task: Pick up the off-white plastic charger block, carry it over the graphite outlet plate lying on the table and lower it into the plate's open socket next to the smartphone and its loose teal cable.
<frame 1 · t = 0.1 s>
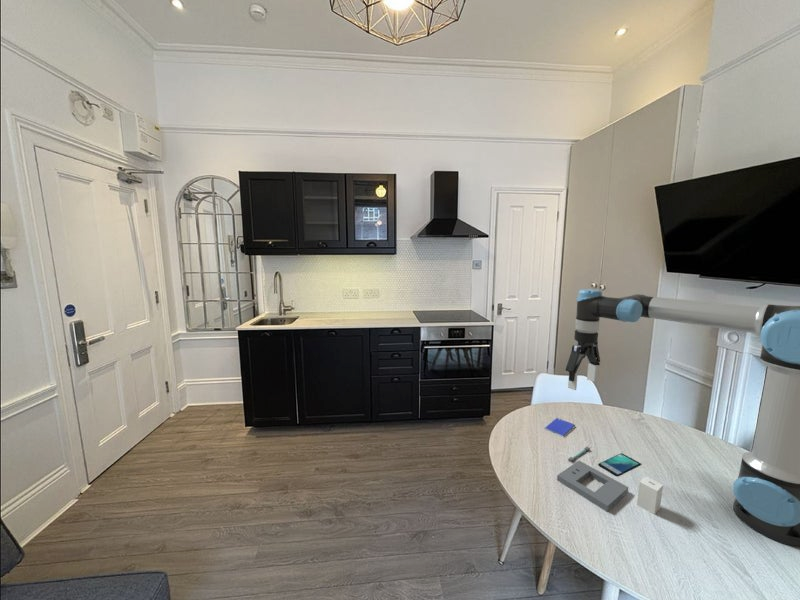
hand: (581, 384, 121), 28 cm above the table, fingers open, 13 cm apart
outlet plate: (591, 486, 107), on the table
hard drive: (559, 429, 142), on the table
smartphone: (619, 466, 118), on the table
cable: (579, 455, 123), on the table
charger: (648, 506, 98), on the table
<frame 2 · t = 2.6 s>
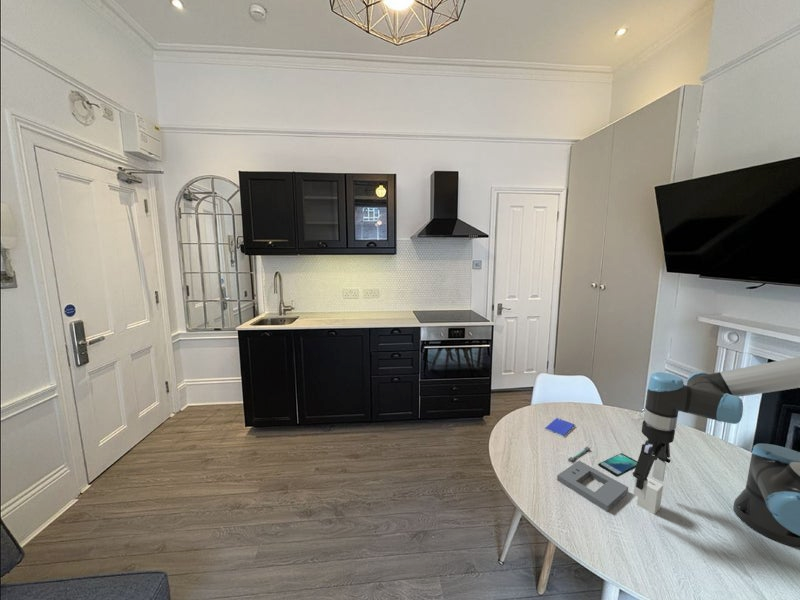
hand: (648, 487, 98), 6 cm above the table, fingers open, 13 cm apart
nothing on the table moved.
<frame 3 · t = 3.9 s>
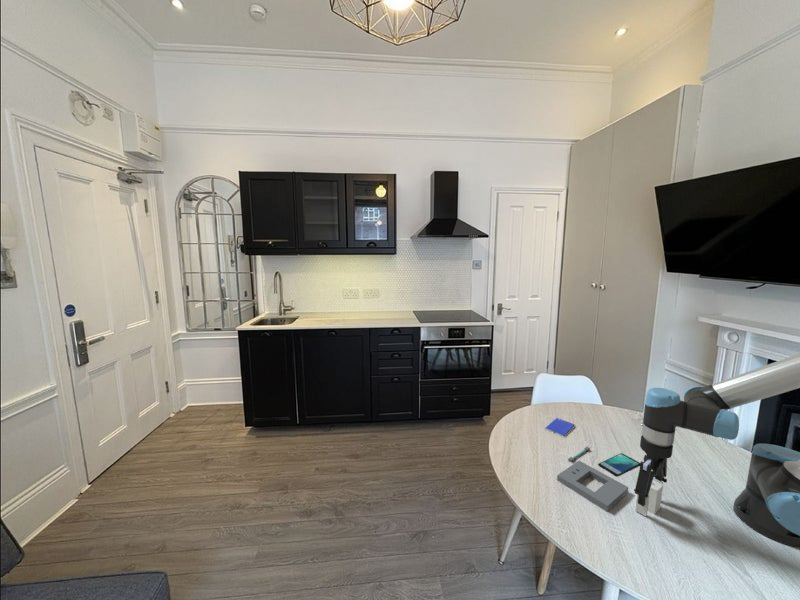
hand: (648, 505, 98), 0 cm above the table, fingers open, 9 cm apart
nothing on the table moved.
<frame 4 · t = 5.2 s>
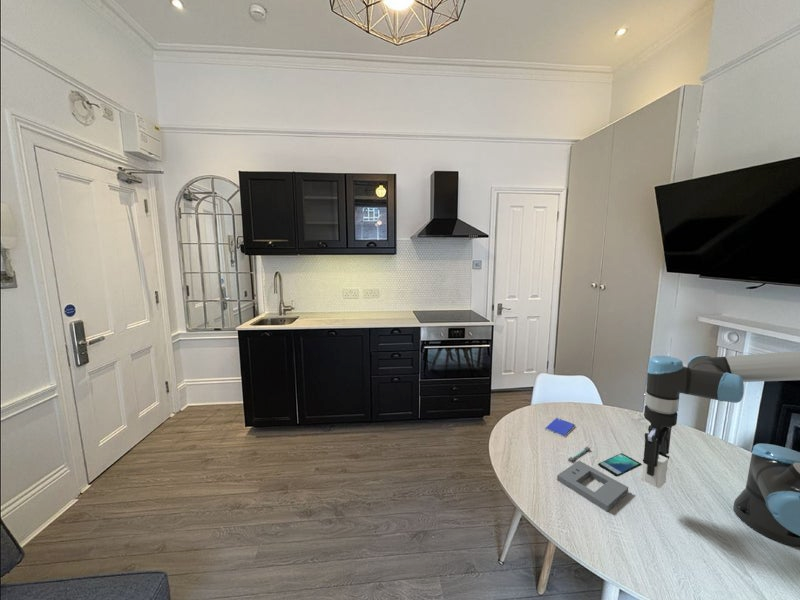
hand: (654, 479, 97), 9 cm above the table, fingers closed on charger, 4 cm apart
charger: (653, 481, 97), point 9 cm above the table, touching gripper
everything else where it was.
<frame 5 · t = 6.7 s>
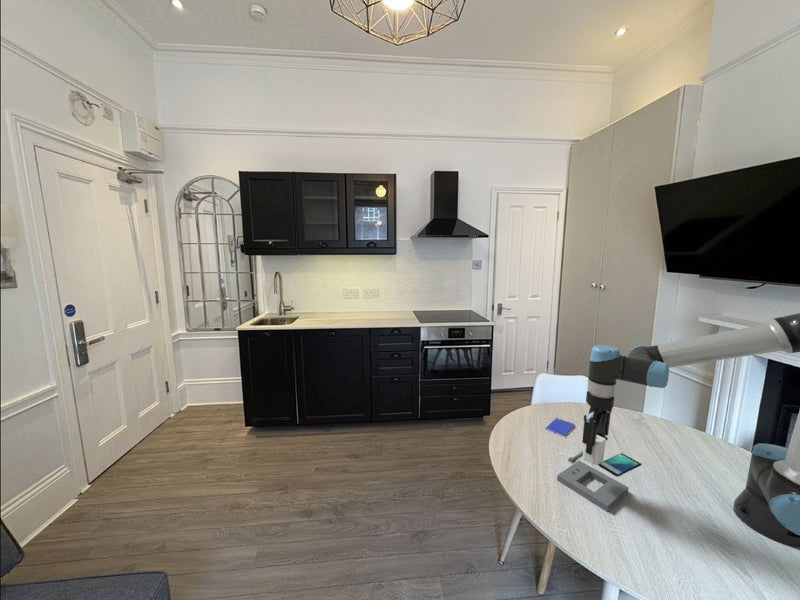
hand: (593, 458, 105), 10 cm above the table, fingers closed on charger, 4 cm apart
charger: (592, 459, 105), point 10 cm above the table, touching gripper
everything else where it was.
when the fingers open (1 cm above the table, at t = 8.5 s): charger stays where it is, resting in outlet plate.
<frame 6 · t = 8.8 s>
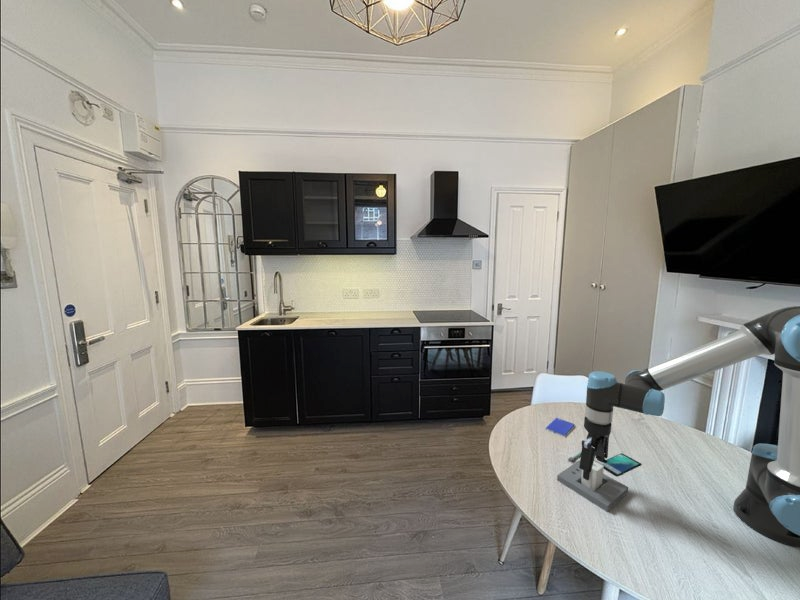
hand: (591, 482, 107), 1 cm above the table, fingers open, 6 cm apart
charger: (591, 486, 107), resting in outlet plate
everything else where it was.
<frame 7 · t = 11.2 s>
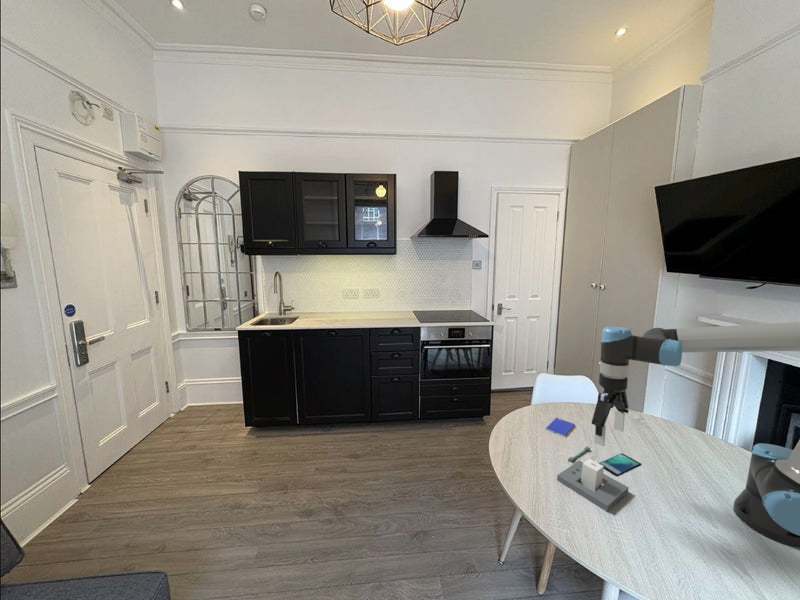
hand: (609, 436, 104), 18 cm above the table, fingers open, 13 cm apart
nothing on the table moved.
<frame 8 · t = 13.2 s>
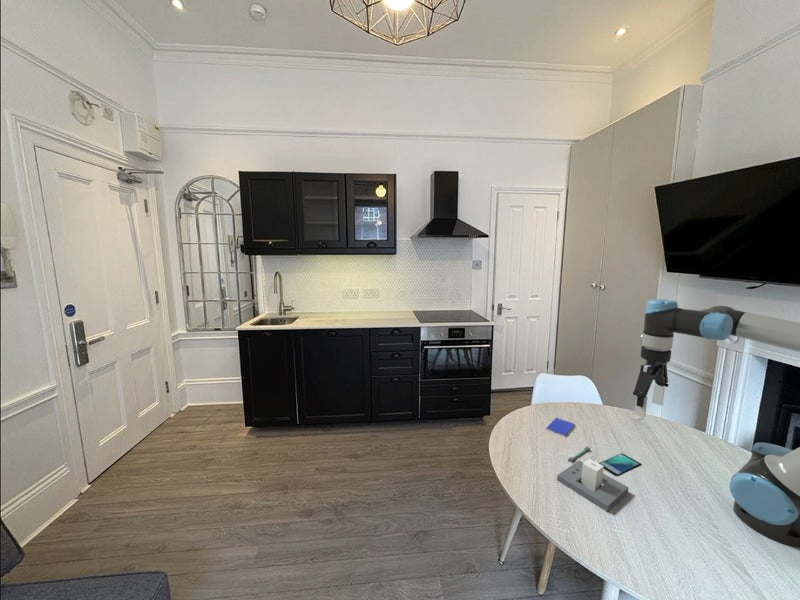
hand: (648, 409, 104), 27 cm above the table, fingers open, 13 cm apart
nothing on the table moved.
at the end: charger 0.1 cm off-centre on the outlet plate, point 0.0 cm above the outlet plate's base; charger tilted 0°; the gripper is holding nothing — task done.
